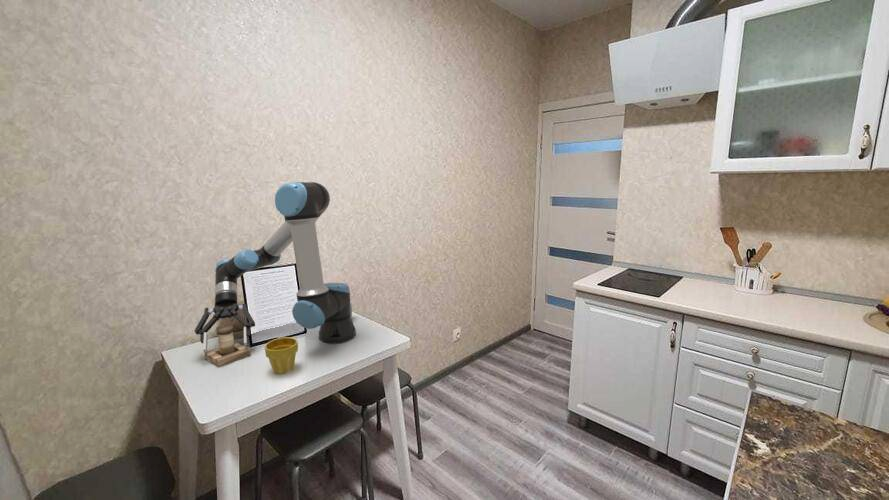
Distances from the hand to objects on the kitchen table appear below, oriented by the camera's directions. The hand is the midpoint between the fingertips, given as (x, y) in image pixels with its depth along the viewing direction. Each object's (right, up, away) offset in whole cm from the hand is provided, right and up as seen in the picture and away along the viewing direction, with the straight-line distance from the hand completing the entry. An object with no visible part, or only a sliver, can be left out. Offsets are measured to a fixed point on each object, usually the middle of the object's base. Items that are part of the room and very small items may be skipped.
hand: (225, 347), depth 131 cm
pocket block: (-1, -4, +3) cm, 6 cm away
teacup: (+31, +2, +41) cm, 52 cm away
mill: (-1, -4, +3) cm, 6 cm away
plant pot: (+23, -6, -5) cm, 25 cm away
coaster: (-4, -2, +15) cm, 15 cm away
